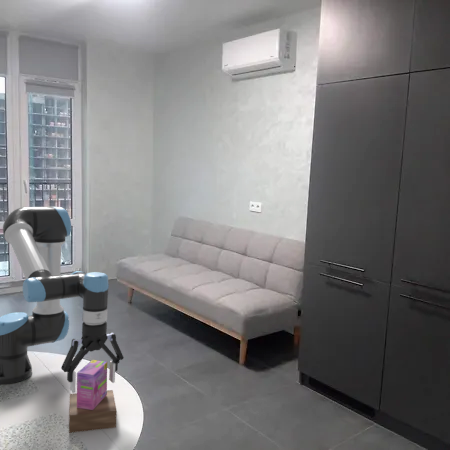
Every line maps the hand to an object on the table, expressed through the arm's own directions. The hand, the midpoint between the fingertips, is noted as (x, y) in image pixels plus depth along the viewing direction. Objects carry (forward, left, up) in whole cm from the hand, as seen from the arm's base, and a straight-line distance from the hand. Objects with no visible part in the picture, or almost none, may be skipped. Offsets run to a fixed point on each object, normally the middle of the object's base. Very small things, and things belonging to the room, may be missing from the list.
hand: (92, 385), depth 147 cm
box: (0, 0, -6) cm, 6 cm away
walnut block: (0, 0, -11) cm, 11 cm away
